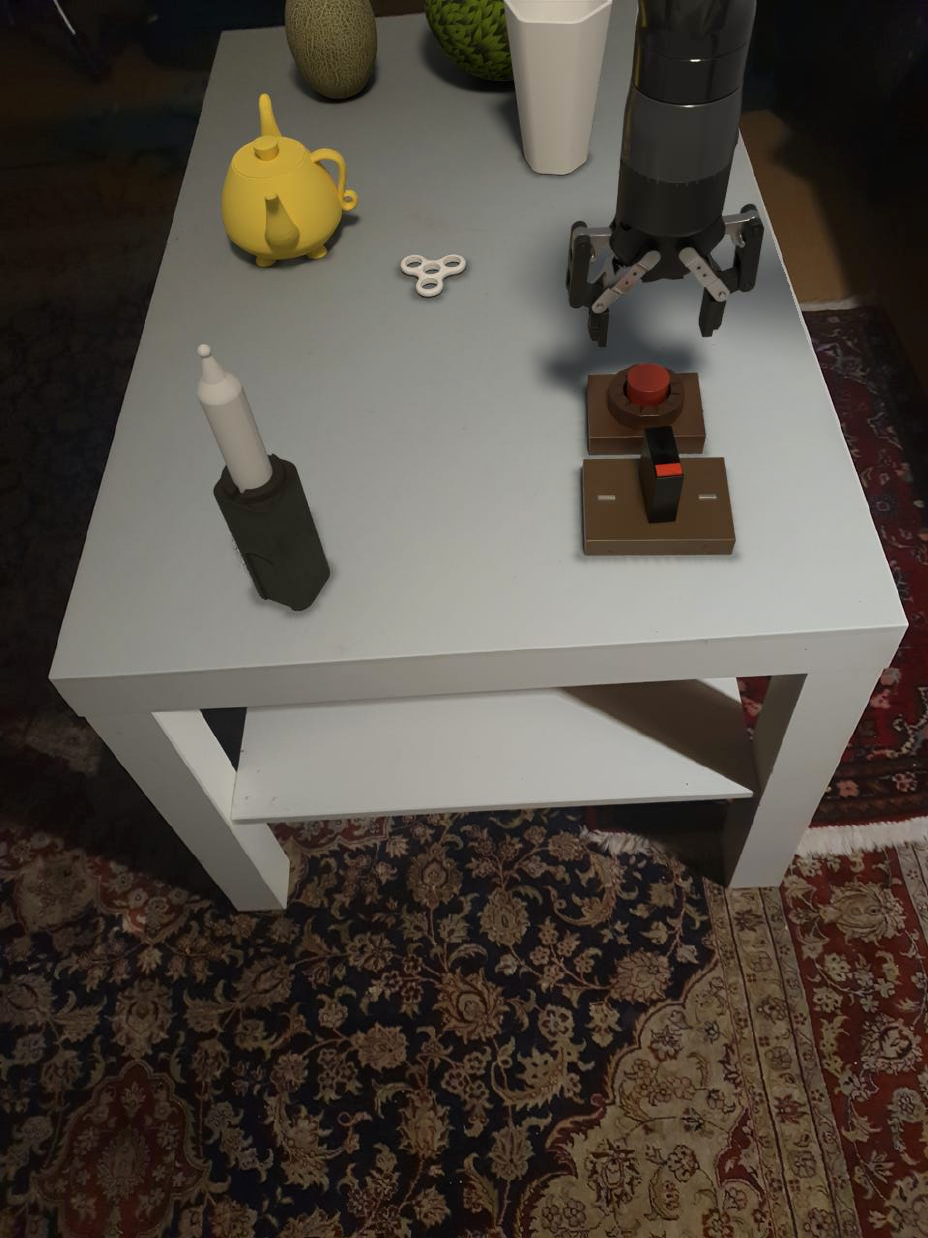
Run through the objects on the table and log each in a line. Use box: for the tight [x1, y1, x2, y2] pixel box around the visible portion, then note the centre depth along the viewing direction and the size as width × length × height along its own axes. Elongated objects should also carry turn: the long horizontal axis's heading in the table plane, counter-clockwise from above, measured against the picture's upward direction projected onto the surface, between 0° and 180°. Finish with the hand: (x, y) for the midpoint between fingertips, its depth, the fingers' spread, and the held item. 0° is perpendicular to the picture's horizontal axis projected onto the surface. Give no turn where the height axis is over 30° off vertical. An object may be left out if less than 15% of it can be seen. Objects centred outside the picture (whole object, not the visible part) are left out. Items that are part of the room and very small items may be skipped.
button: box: [626, 362, 670, 406], centre depth 80 cm, size 4×4×2 cm
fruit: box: [284, 0, 378, 99], centre depth 114 cm, size 11×11×15 cm
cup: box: [504, 0, 614, 176], centre depth 101 cm, size 11×10×17 cm
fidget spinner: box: [400, 254, 467, 298], centre depth 97 cm, size 7×6×1 cm
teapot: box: [221, 93, 359, 268], centre depth 98 cm, size 20×15×12 cm
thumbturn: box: [639, 426, 684, 524], centre depth 74 cm, size 6×2×6 cm, turn 3°
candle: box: [196, 343, 331, 612], centre depth 67 cm, size 5×5×25 cm
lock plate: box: [581, 456, 737, 556], centre depth 77 cm, size 12×9×2 cm
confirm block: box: [586, 363, 707, 456], centre depth 83 cm, size 10×8×4 cm
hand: (652, 335), depth 75 cm, fingers open, 8 cm apart
